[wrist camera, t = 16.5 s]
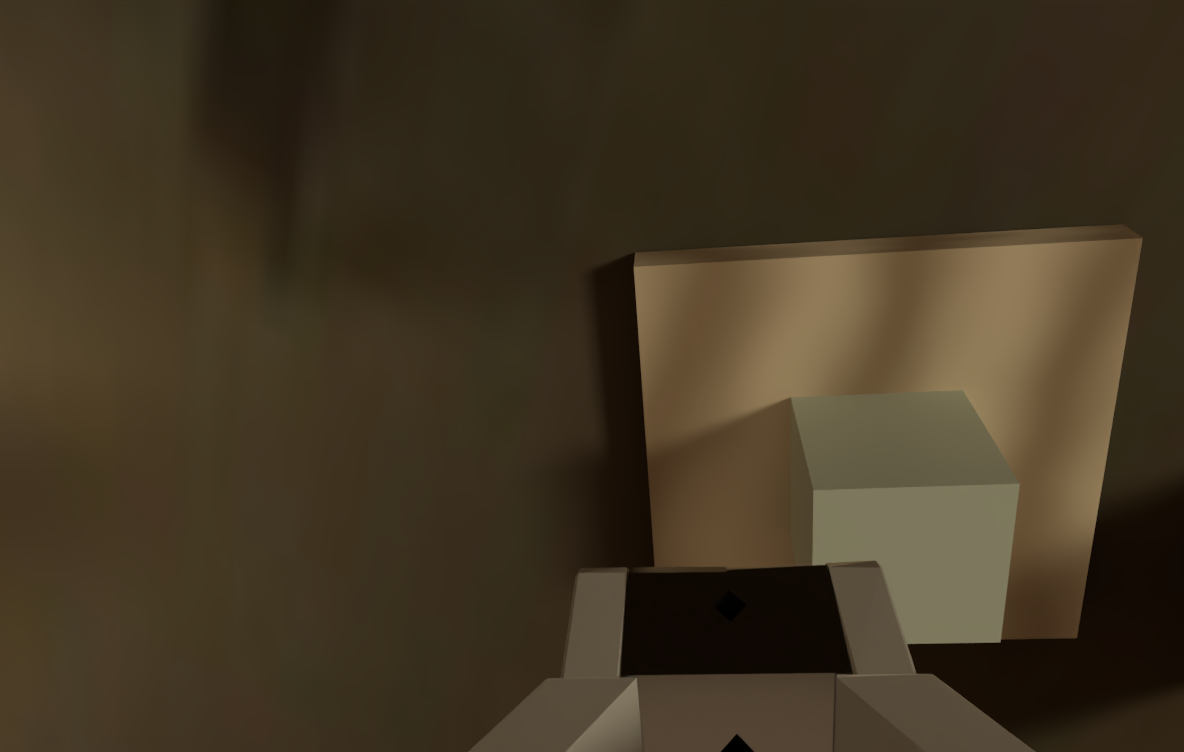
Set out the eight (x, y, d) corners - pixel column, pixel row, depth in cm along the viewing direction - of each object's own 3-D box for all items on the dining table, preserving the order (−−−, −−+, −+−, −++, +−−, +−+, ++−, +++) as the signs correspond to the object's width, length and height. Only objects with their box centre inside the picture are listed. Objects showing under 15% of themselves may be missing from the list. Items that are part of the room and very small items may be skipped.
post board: (1122, 224, 32) (1218, 291, 26) (1062, 612, 39) (1128, 731, 33) (635, 252, 33) (627, 320, 28) (660, 620, 40) (658, 734, 35)
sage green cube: (963, 390, 33) (1019, 483, 28) (950, 531, 36) (1000, 642, 30) (790, 397, 34) (813, 490, 28) (790, 535, 36) (811, 645, 31)
